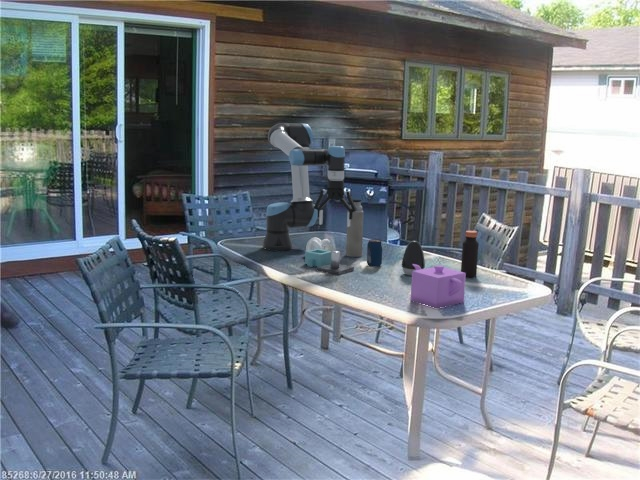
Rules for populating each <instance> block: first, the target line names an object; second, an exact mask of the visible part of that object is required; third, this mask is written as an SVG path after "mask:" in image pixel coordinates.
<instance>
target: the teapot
mask: <svg viewBox="0 0 640 480" xmlns="http://www.w3.org/2000/svg"><path fill="white" fill-rule="evenodd" d="M412 265H413V266H414V267H415V269H416V270H415V271H412V276H411V285H410V286H411V287H410V302H412V301H414V302H413V303H415V302H418V303H421V304H420V305H422V304H425V305H428V306H431V307H434V308H440V307H444V308H446V307H445V306H448V307H450V306H449V305H452V306H455V305H454V304H457V305H460V304H459V303H461V304H464V303H465V291H466V287H465V286H466V277H465V276H466V273H464V272H461V270H456V269H451V268H447V267H445V266H444V265H442V264H441V265H440V264H436V265H434V266H432V267H428V268H424V269H421V267H420V266H419V265H416V264H412ZM418 303H417V304H418ZM425 305H424V306H425ZM428 306H427V307H428ZM431 307H430V308H431ZM434 308H433V309H434ZM440 309H441V308H440Z"/></svg>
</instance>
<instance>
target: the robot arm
mask: <svg viewBox="0 0 640 480" xmlns="http://www.w3.org/2000/svg"><path fill="white" fill-rule="evenodd" d="M267 140H268V142H269V143H270V145H272V146H273V147H274V148H277V149H279V150H281V151H282V152H283V153H284V154H286V156H287V157H288V161H289V164H290V166H291V167H290V168H291V183H292V200H291V201H290V203H289V202H286V201H285V202H284V201H282V202H280V201H279V202H274V203H270V204H268V206H267V207H266V214H265V216H266V218H265V219H266V221H265V222H266V228H265V229H266V232H265V237H264V240H263V242H262V249H263V248H266V249H270V250H269V251H271V250H279V251H278V252H281V251H282V252H285V251H290V250H292V249H293V243H292V240H291V236H290V228H308V227H312V226H314V225H315V223H316V222H317V219H318V218H319V219H318V220H319V222H318V224H319V225H320V226H321V225H323V219H324V215H323V214H324V210H323V208H324V207H325V206H326V205H327V204H328V202H330V201H340V202H341V203H342V204H343V206H344V207H345V208H346V210H347V211H349V212H348V213H346V215H347V217H346V219H347V220H346V228H347V227H349V226H350V219H352V218H353V212H355V211H357V209H356V206H355V204H354V202H353V200H352V199H353V197H352V196H351V194H352V193H351V191H350V190H347V191H345V181H344V180H345V166H346V165H345V161H346V153H345V152H346V151H345V150H346V149H345V147H344V146H341V145H330V146H328V148H321V149H315V148H313V149H312V148H311V149H310V146H312V145H313V143H314V141H313V140H314V133H313V130H312V127H311V126H310V125H309V124H307V123H301V122H294V123H293V122H289V123H288V122H279V123H276V124H275V125H273V126H271V127H270V128H269V130H268V132H267ZM309 166H310V167H311V166H327V189H324V188H323V189H321V190H320V194H319V196H318V198H317V200H316V202H315V204H314V200H313V199H311V197H310V180H309V179H310V178H309ZM325 195H327V197H326V198H325V199H324V200H323V198H324V196H325ZM344 195H345V196H346V198H347V200H348V202H347V201H346V198H345V197H344ZM322 201H323V202H322ZM321 202H322V203H321ZM350 205H351V207H352V208H351V207H350ZM266 249H265V250H266ZM284 250H285V251H284Z"/></svg>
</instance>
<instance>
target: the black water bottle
mask: <svg viewBox="0 0 640 480" xmlns="http://www.w3.org/2000/svg"><path fill="white" fill-rule="evenodd" d="M477 237H478V231H477V230H466V231H465V239H464V240H463V242H462V249H461V262H460V263H461V265H460V272H464V273H466V276H465V278H468V279H470V278H471V279H472V278H474V279H475V278H476V277H477V272H478V271H477V270H478V269H477V268H478V258H479V256H478V255H479V242H478V240H477Z"/></svg>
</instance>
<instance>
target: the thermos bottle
mask: <svg viewBox="0 0 640 480" xmlns="http://www.w3.org/2000/svg"><path fill="white" fill-rule="evenodd" d="M352 200H353V202H354V204H355V206H356V209H357V211H355V212H353V218H352V219H350V226H349V227H347V226H346V239H345V240H346V241H345V242H346V243H345V244H346V245H345V246H346V247H345V256H347V257H352V258H357V257H358V258H359V257H362V256H363V242H364V241H363V237H364V235H363V234H364V233H363V232H364V210H363V206H362V205H361V204H362V203H361V201H362V199H357V198H352ZM349 206H350V207H351V205H350V204H349ZM351 208H352V207H351ZM348 212H349V211H348V210H347V213H348ZM347 213H346V214H347Z"/></svg>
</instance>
